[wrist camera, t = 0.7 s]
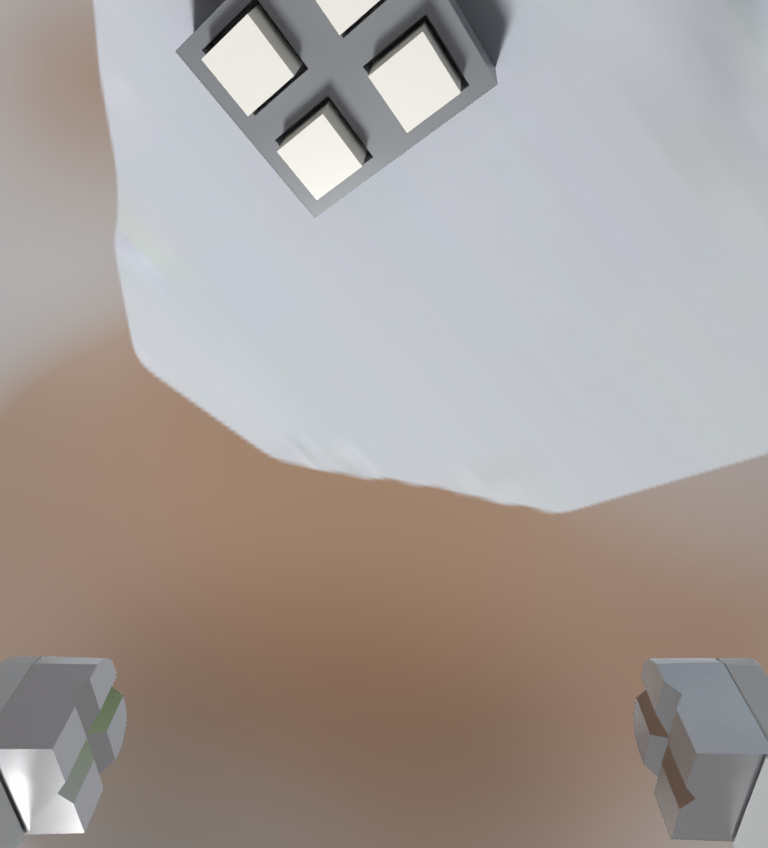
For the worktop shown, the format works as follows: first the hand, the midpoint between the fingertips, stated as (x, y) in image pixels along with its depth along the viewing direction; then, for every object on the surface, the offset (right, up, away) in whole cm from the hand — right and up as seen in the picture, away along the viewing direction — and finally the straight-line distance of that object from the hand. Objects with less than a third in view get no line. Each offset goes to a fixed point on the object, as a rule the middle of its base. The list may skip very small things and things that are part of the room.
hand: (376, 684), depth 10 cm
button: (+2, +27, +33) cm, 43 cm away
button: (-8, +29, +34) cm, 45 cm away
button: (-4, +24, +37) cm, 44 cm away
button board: (-3, +30, +36) cm, 47 cm away
